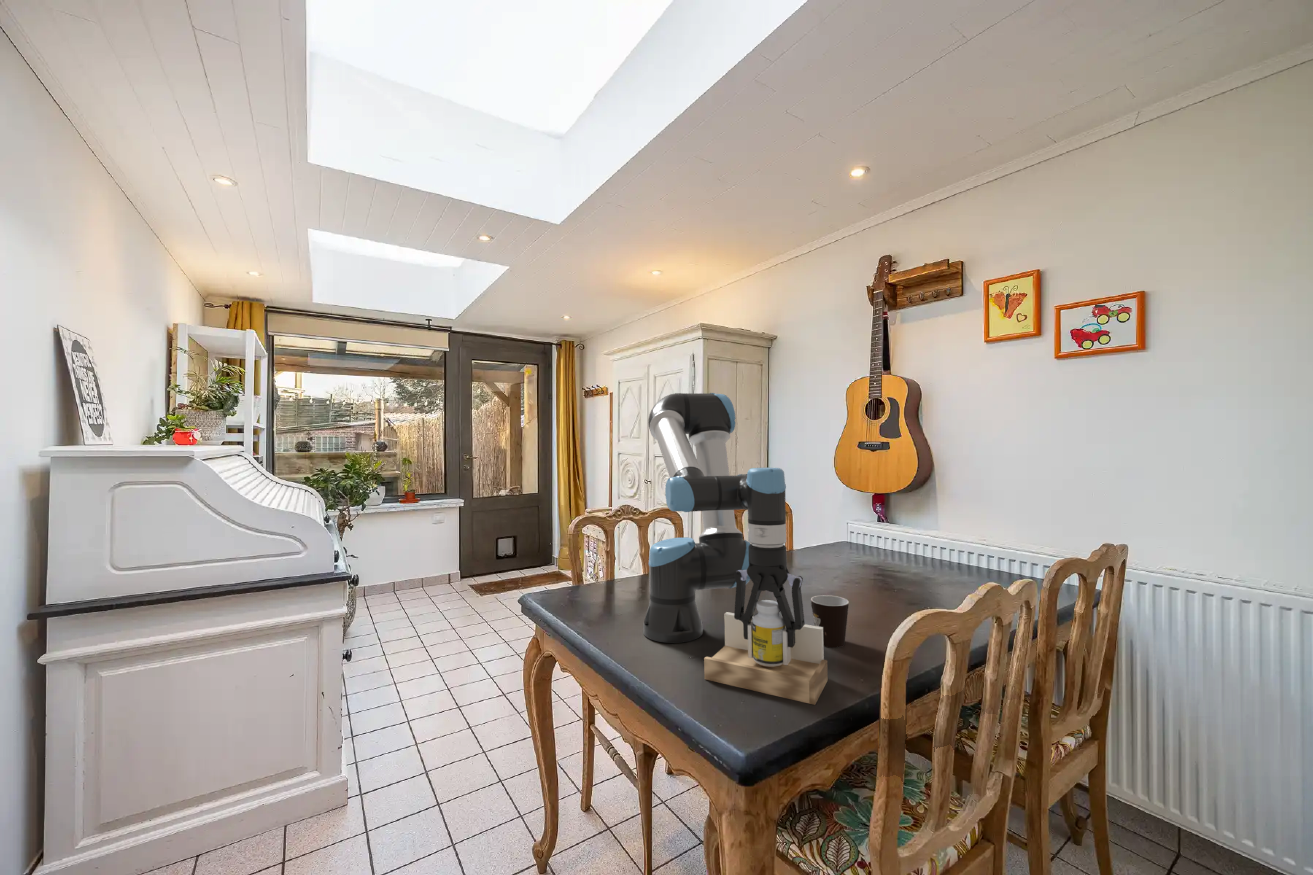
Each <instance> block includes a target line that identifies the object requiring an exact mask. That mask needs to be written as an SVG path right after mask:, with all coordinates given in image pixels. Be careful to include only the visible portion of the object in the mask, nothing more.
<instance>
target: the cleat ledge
mask: <svg viewBox="0 0 1313 875" xmlns="http://www.w3.org/2000/svg"><path fill="white" fill-rule="evenodd" d="M703 660H704V661H703V665H704V667H703V668H704V669H703V670H704V672H703V673H704V680H706V681H711V682H715V683H719V684H724V685H727V686H731V687H736V688H741V689H746V690H749V691H754V692H759V693H762V694H766V695H771V696H776V697H780V698H784V699H788V700H793V701H796V702H801V703H806V704H810V705H814V706H815V705H816V704H817V702H818V700H819V698H820V696H821V694H822V692H823V690H824V689H825V686H826V684H827V682H828V681H829V680H828V660H827V659H824V660H822V661H821V662H820V664H817V663H812V662H807V661H801V660H796V659H791V661H790V662H789V663H788V665H783V664H782V665H780V666H776V667H768V666H763V665H760V664H758V663H756V662H755V661H754V659H753V658H748V650H745V649H739V648H734V647H729V646H725V645H723V647H722V648H721V649H719V650H718V651H717V652H716V653H715V654H714V655H713V656H711V657H710V656H705V657H704V658H703Z"/></svg>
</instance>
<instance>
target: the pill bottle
mask: <svg viewBox="0 0 1313 875" xmlns="http://www.w3.org/2000/svg"><path fill="white" fill-rule="evenodd" d="M756 611H757V613H756V614H755V613H754V615H753V616H754V617H753V619H752V626H753V659H754V661H755V662H756V663H758V664H760V665H763V666H768V667H776V666H780V665H782V664H783V630H784V629H785V623H784V620H783V617H782V614H781V612H780V609H779V606H778V603H777V600H771V599H770V600H769V599H765V600H764V599H762V600H758V602H757V605H756Z"/></svg>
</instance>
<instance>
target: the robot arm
mask: <svg viewBox="0 0 1313 875" xmlns="http://www.w3.org/2000/svg"><path fill="white" fill-rule="evenodd" d="M736 418H737V417H736V411H735V407H734V405H733V403H732V400H731V399H730V398H729V397H728V395H725V394H723V393H715V392H709V393H708V392H707V393H702V392H701V393H694V392H693V393H682V392H680V393H678V392H675V393H670V394H668V395H666V396H663V397H662V398H660V399H659V400H658V401H657V402H656V403H655V404H654V406H653V407H652V409H651V411H650V412H649V416H648V420H647V422H648V423H647V424H648V428H649V432H650V434H651V436H652V438H654V439H655V440H656V441H657V444H658V447H659V449H660V453H661V455H662V459H663V461H664V465H665V467H666V469H667V470H666V471H667V473H668V476H669V478H668V479H667V480H666V482H665V488H664V489H665V492H664V494H665V502H666V506H667V508H668V509H669V510H670V511H671V512H684V513H691V512H701V516H702V526H703V527H702V528H703V531H702V532H701V534H700V535H698V542H695V539H693V538H692V537H673V538H672V537H671V538H666V539H663V540H660V541H658V542H655V543H654V544H652V546H650V549H649V553H648V554H649V556H648V568H649V569H648V570H649V573H648V574H649V603H648V608H647V610H646V614H645V615H644V616H645V617H644V620H643V624H642V628H643V630H642V631H643V635H644V637H645V638H647V639H650V640H652V641H655V642H659V643H664V644H665V643H666V644H667V643H668V644H678V643H688V642H692V641H694V640H697V639H699V638H701V637H702V635H703V632H704V630H703V629H704V627H703V621H702V618H701V614H700V612H699V609H698V605H697V602H696V591H699V590H701V591H703V590H715V589H719V590H720V589H733V588H735V601H734V612H733V613H734V618H735V619H736V620H740V621H742V622H743V630H744V639H747V640H748V658H753V626H752V622H751V620H752V619H753V616H754V615H755V611H756V609H757V602H758V601H759V599H760V596H761V592H765V591H767V592H770V593H773V597H774V598H775V601H777V603H778V606H779V609H780V612H779V613H780V615H781V616H782V617H783V620H784V623H785V626H786V628H785V629H784V630H783V665H788V663H789V662H790V661H791V647H792V648H793V646H794V645H795V630H800V629H801V628H802V627H803V626H804V624H805V623H806V621H805V614H804V612H805V611H804V605H803V596H802V594H803V593H802V585H803V584H802V583H803V582H804V581H803V580H804V577H803V576H801V575H798V576H796V575H794V574H790V571H789V570H788V567H787V563H788V562H787V558H788V557H787V555H788V554H787V546H786V545H785V544H786V542H787V525H786V521H787V520H786V514H787V513H786V489H787V486H786V477H785V471H784V470H783V469H782V468H780V467H752V468H749V469H748V471H747V473H744V474H743V473H741V474H740V473H739V474H736V475H730V468H729V458H728V451H727V445H726V444H727V442H728V440H730V438H731V434H732V433H733V432H734V430H735V428H736ZM687 435H688V436H687ZM691 444H692V445H693V446H694V447H695V452H694V450H693V448H692V446H691ZM735 510H736V511H737V510H746V511H747V522H748V523H747V530H748V532H747V533H748V534H747V535H748V539H747V540H746V539H744V535H743V532H742V531H741V530H740V529H738V528H737V526H736V518H735ZM750 581H751V582H752V583H753V584H752V587H751V591H750V596H749V599H748V603H747V605H746V608H745V604H746V603H745V602H746V601H745V600H746V588H747V584H748V583H749V582H750ZM787 581H788V583H789V586H790V587H791V598H792V610H793V613H792V610H791V607H790V604H789V601H788V598H787V596H786V590H785V586H784V585H785V583H786V582H787ZM793 616H794V617H793Z"/></svg>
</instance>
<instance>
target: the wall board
mask: <svg viewBox="0 0 1313 875" xmlns="http://www.w3.org/2000/svg"><path fill="white" fill-rule="evenodd" d="M723 615H724V616H723V618H724V619H723V620H724V646H729V647H734V648H739V649H745V650H748V640H747V639H744V630H743V622H742V621H740V620H736V619H735V618H734V612H729V611H728V612H727V611H726V612H724V614H723ZM753 617H754V615H753ZM751 622H752V620H751ZM785 628H786V626H785ZM824 647H825V646H823V627H818V626H814V625H810V624H804V626H803V627H802V628H801V629H800V630H795V645H794V646H793V648H792V647H791V659H796V660H801V661H807V662H812V663H817V664H820V662H821V661H822V660H825V658H824V657H825V656H824V655H825V654H824V649H825V648H824Z"/></svg>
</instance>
